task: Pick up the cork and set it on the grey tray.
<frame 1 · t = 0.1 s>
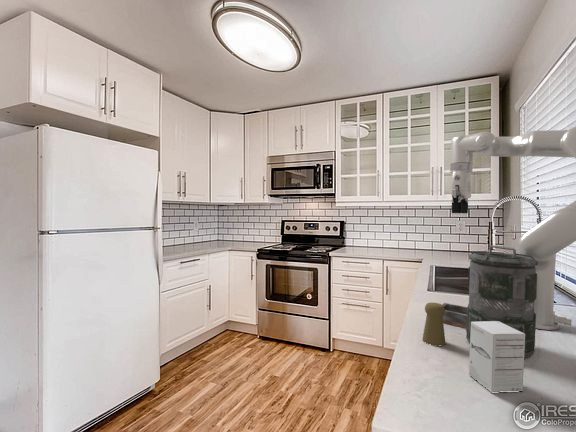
hand: (459, 213, 122), 37 cm above the counter, tool pointing down, fingers open, 9 cm apart
canister: (498, 347, 88), on the counter
supplement box: (494, 384, 69), on the counter
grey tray: (455, 321, 108), on the counter
cork: (433, 342, 91), on the counter
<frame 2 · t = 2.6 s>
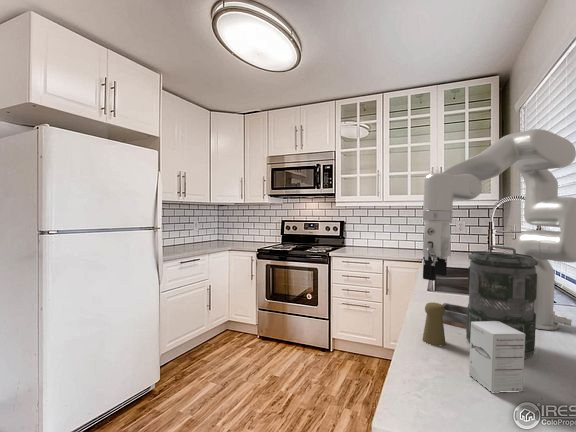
hand: (434, 277, 90), 19 cm above the counter, tool pointing down, fingers open, 9 cm apart
nothing on the counter moved.
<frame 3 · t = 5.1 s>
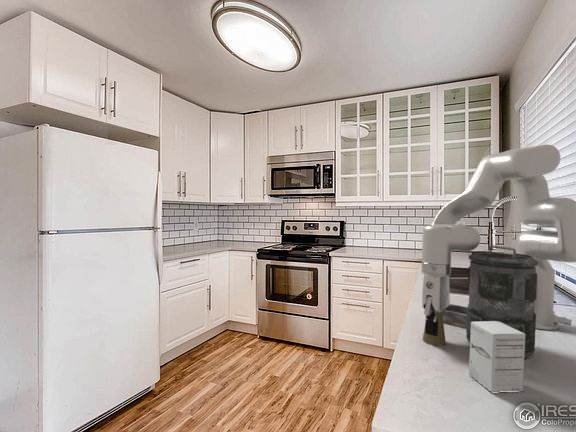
hand: (433, 331, 91), 3 cm above the counter, tool pointing down, fingers closed on cork, 3 cm apart
cork: (433, 342, 91), on the counter, touching gripper
everything else where it was.
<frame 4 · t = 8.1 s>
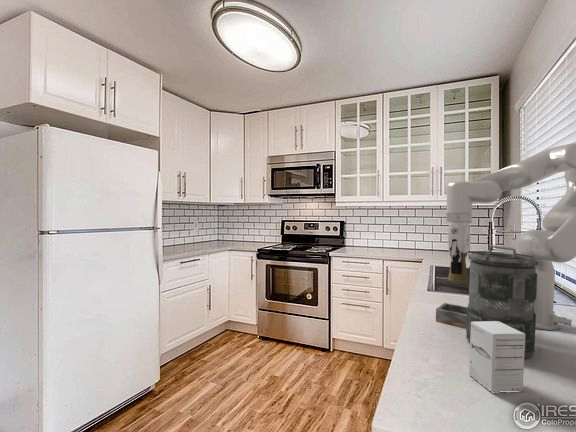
hand: (458, 272, 107), 17 cm above the counter, tool pointing down, fingers closed on cork, 3 cm apart
cork: (458, 280, 107), point 14 cm above the counter, touching gripper
everything else where it was.
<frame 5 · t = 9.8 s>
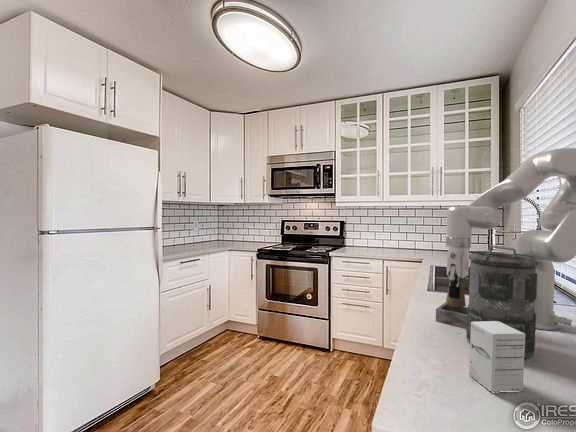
hand: (455, 296, 108), 9 cm above the counter, tool pointing down, fingers closed on cork, 3 cm apart
cork: (455, 304, 108), point 6 cm above the counter, touching gripper
everything else where it was.
when the fingers open (5 cm above the counter, at t = 11.3 s): cork stays where it is, resting on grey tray.
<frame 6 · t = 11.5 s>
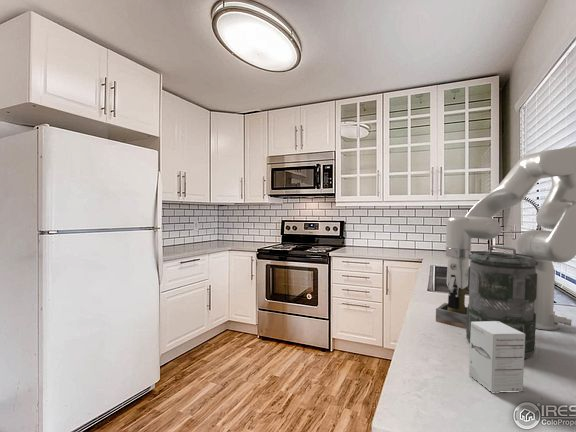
hand: (456, 305, 108), 5 cm above the counter, tool pointing down, fingers open, 6 cm apart
cork: (456, 318, 108), point 1 cm above the counter, touching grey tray
everything else where it was.
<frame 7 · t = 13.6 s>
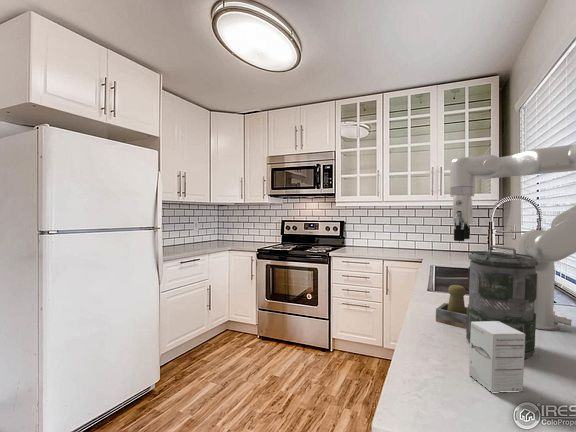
hand: (462, 239, 114), 27 cm above the counter, tool pointing down, fingers open, 9 cm apart
nothing on the counter moved.
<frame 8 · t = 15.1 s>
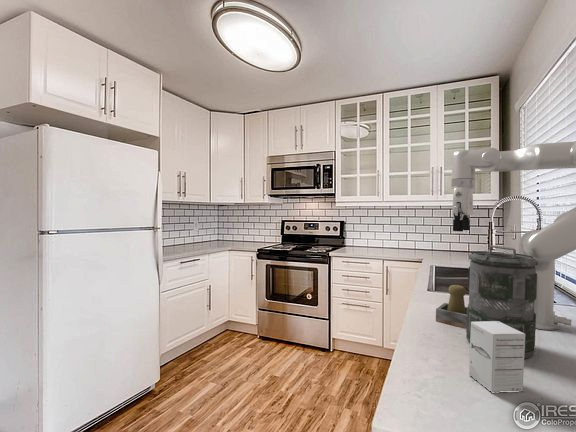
hand: (461, 230, 117), 30 cm above the counter, tool pointing down, fingers open, 9 cm apart
nothing on the counter moved.
at the end: cork 0.1 cm off-centre on the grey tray, point 1.0 cm above the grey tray's base; cork tilted 0°; the gripper is holding nothing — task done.
